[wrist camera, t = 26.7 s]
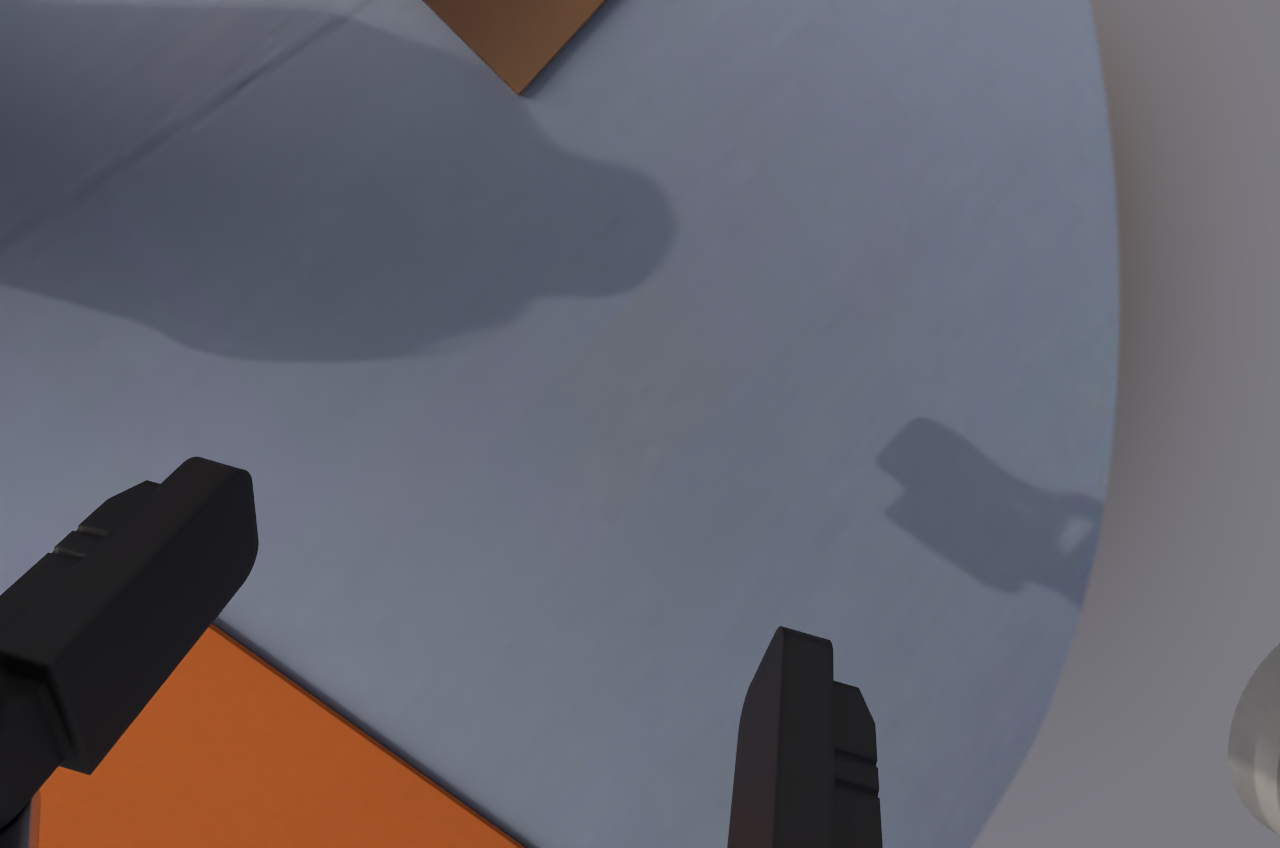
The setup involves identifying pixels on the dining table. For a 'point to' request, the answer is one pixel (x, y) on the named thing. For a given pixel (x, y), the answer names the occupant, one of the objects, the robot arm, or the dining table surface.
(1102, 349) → the dining table surface
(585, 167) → the dining table surface
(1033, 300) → the dining table surface
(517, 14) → the brown flat board
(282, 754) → the towel
